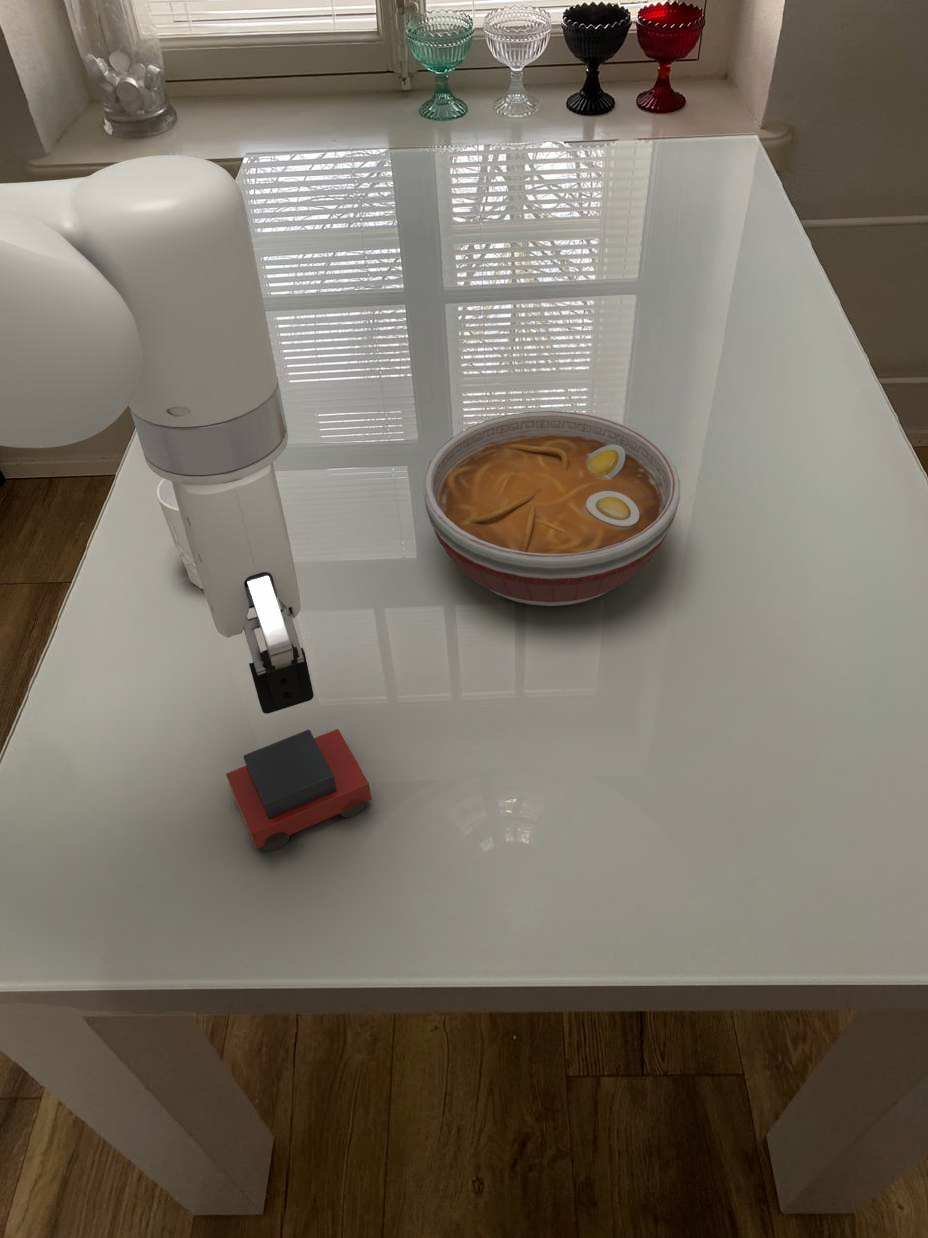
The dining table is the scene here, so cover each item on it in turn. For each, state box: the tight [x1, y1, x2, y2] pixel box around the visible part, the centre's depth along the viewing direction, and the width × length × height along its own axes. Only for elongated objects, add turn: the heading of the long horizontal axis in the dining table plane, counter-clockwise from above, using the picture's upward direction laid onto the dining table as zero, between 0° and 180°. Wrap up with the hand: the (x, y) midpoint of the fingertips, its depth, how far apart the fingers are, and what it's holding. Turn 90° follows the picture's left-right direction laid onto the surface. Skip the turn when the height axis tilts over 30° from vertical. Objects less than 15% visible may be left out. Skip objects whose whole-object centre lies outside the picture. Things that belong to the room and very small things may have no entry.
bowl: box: [422, 410, 681, 607], centre depth 89 cm, size 23×23×10 cm
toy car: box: [225, 728, 372, 851], centre depth 71 cm, size 9×5×6 cm
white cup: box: [156, 478, 203, 590], centre depth 89 cm, size 8×8×10 cm
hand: (268, 651), depth 61 cm, fingers open, 9 cm apart
